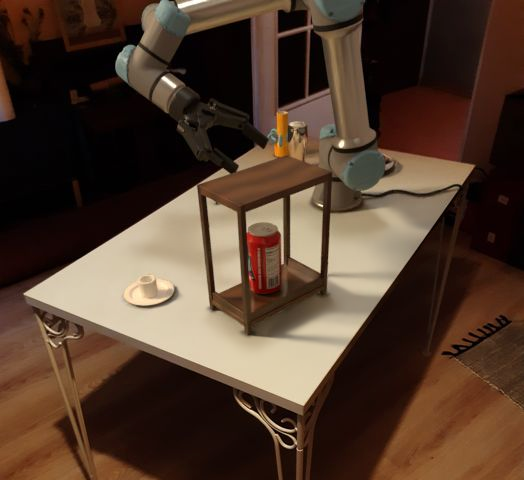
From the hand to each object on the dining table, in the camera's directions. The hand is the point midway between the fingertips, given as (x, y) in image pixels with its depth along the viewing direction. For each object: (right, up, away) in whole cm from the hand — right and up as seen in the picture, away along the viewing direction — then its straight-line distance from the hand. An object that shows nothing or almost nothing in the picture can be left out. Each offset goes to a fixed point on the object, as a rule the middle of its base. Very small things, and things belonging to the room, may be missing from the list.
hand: (251, 157), depth 128 cm
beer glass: (+15, +20, +71) cm, 75 cm away
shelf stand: (+4, -32, +4) cm, 33 cm away
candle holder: (-25, -30, +8) cm, 40 cm away
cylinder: (+10, +29, +81) cm, 87 cm away
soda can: (+3, -29, +3) cm, 30 cm away
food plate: (+36, +21, +70) cm, 81 cm away
